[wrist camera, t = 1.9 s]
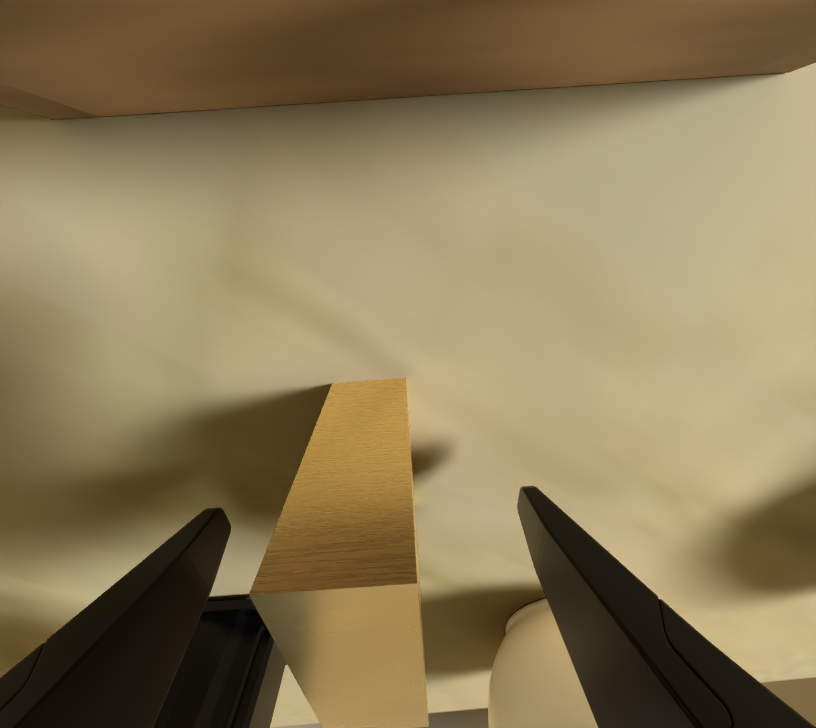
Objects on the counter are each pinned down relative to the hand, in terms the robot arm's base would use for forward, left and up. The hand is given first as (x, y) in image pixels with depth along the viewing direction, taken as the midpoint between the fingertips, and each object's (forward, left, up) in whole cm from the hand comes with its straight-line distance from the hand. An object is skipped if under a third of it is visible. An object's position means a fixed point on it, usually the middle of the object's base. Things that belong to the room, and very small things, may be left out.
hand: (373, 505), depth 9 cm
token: (0, 0, -2) cm, 2 cm away
